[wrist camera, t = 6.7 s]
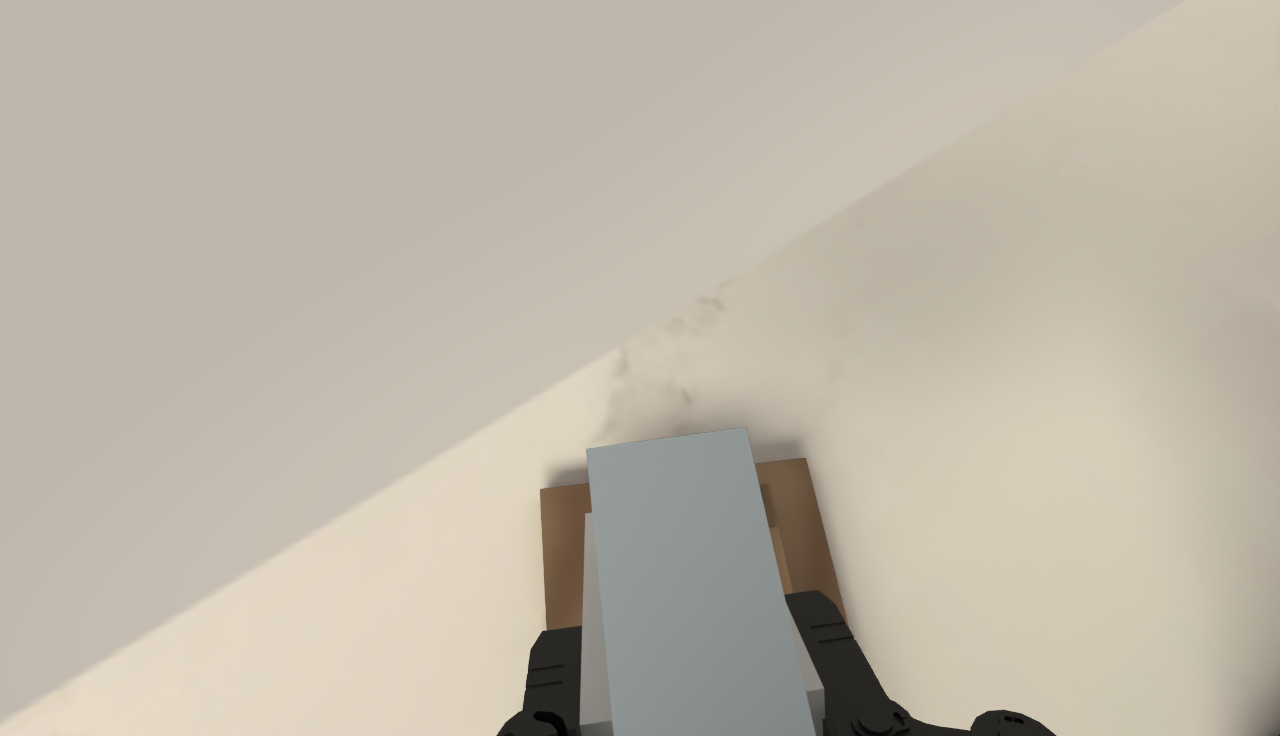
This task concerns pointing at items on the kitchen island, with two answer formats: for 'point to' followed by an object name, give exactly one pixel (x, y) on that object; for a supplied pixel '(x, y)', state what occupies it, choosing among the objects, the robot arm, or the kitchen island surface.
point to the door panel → (692, 592)
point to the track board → (787, 519)
